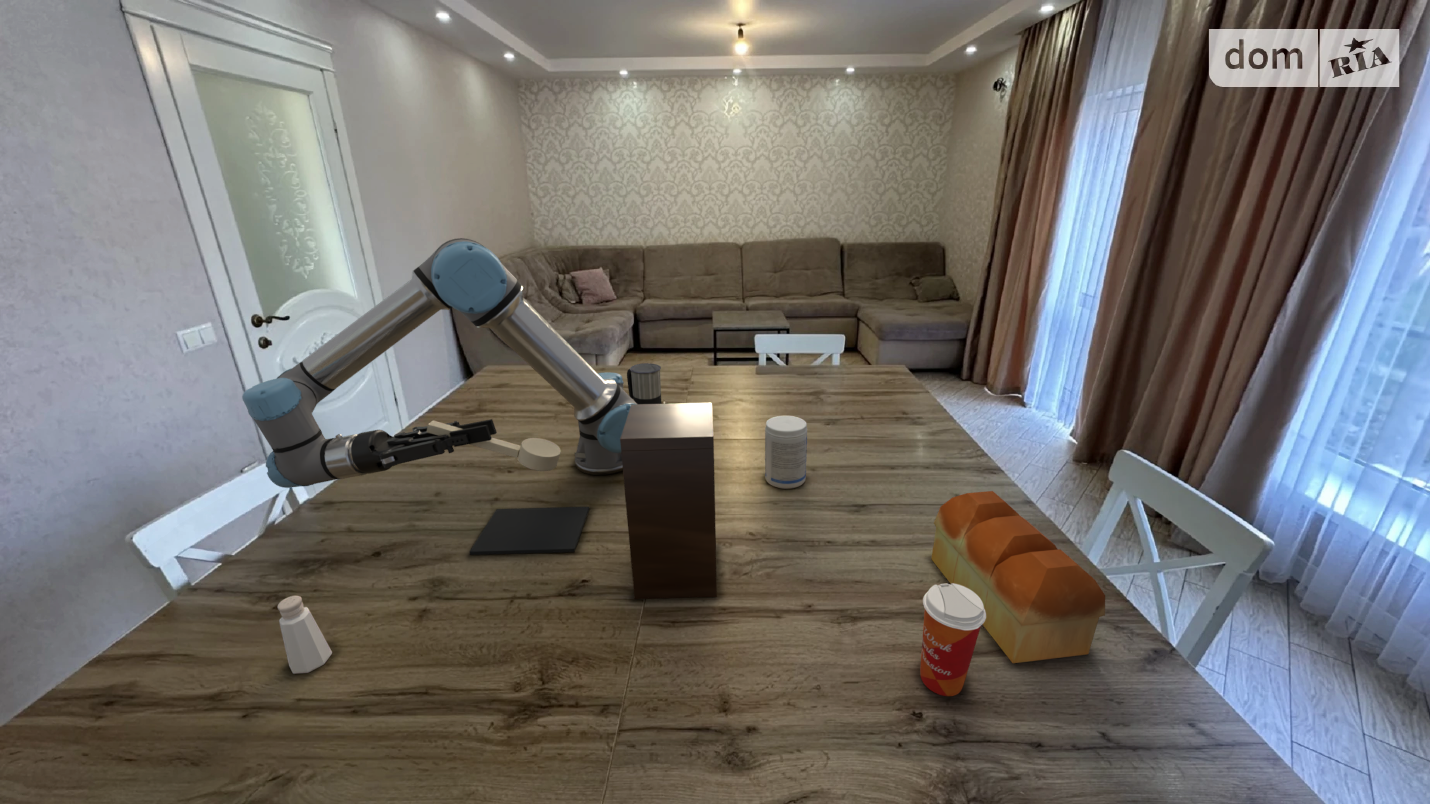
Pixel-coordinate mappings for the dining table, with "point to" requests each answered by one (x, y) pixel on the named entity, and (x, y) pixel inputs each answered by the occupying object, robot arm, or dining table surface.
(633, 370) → the milk frother
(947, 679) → the paper cup
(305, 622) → the pepper shaker
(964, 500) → the bread
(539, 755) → the dining table surface
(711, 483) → the tall dark wooden box
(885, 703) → the dining table surface
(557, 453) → the scoop
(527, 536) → the mat
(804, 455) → the supplement tub
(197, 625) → the dining table surface
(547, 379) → the robot arm
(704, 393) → the dining table surface
